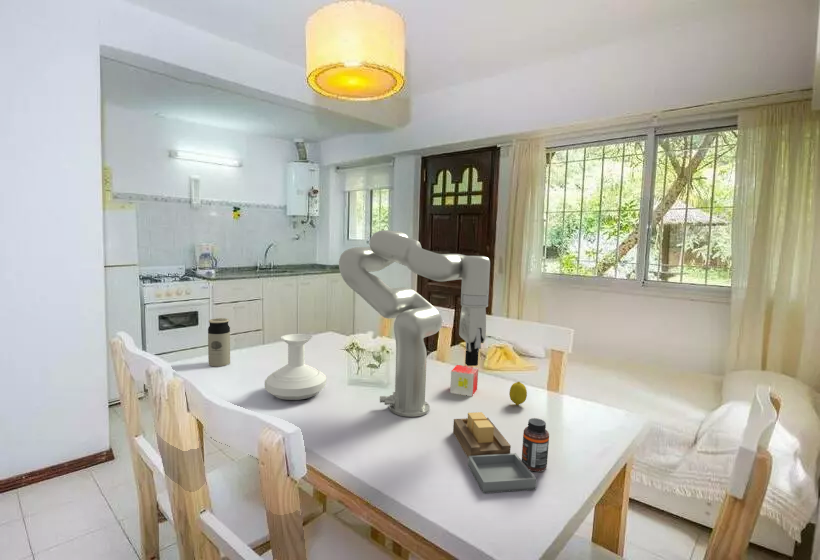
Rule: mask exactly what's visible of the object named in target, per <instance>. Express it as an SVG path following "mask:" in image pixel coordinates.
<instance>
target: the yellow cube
mask: <svg viewBox="0 0 820 560" xmlns="http://www.w3.org/2000/svg"><path fill="white" fill-rule="evenodd" d="M467 418H468V421H467V427H468V429H469V430H470V432H471V433H472V434H473V425H474V421H480V420H487V418H488V417H487V416H486V415H485V414H484V413H483V412H482V411H480V412H479V411H476V412H468V413H467Z"/></svg>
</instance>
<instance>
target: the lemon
mask: <svg viewBox="0 0 820 560" xmlns="http://www.w3.org/2000/svg"><path fill="white" fill-rule="evenodd" d="M509 388H510V389H509V398H510V400H511V402H512V403H514V404H515V405H516V406H519V405H521V404H522V405H523V403H524V402H526V400H527V396H528V391H527V387H526V385H525V384H523V383H522V382H520V381H515V382H514V383H512V384H511V386H510V387H509Z"/></svg>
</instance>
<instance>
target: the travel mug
mask: <svg viewBox="0 0 820 560" xmlns="http://www.w3.org/2000/svg"><path fill="white" fill-rule="evenodd" d="M229 322H230V319H229V318H226V317H225V318H224V317H220V318H218V317H216V318H210V319H209V320H208V323H209V326H208V328H207V345H208V346H207V347H208V349H207V350H208V351H207V353H208V359H207V361H208V365H209V366H211V367H217V368H219V367H225V366H228V365H229V364H231V326H229Z"/></svg>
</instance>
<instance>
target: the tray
mask: <svg viewBox="0 0 820 560" xmlns="http://www.w3.org/2000/svg"><path fill="white" fill-rule="evenodd" d="M467 459H468V460H467V467H468V468H469V470H470V472H471V474H472V475H473V477H474V480H475V482H477V485H478V486H479V489H480V490H481V492H482V493H483V494H494V493H507V492H521V491H533V490H534V491H536V490H537V477H536V476H535V475H534V474H533V473H532V471H531V470H529V469H528V468H527V467H526V465H525V464H524V463H523V462H522V458H520V456H519V455H518V454H517V453H516V452H515V453H511V452H510V454H493V455H475V456H468V458H467Z"/></svg>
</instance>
